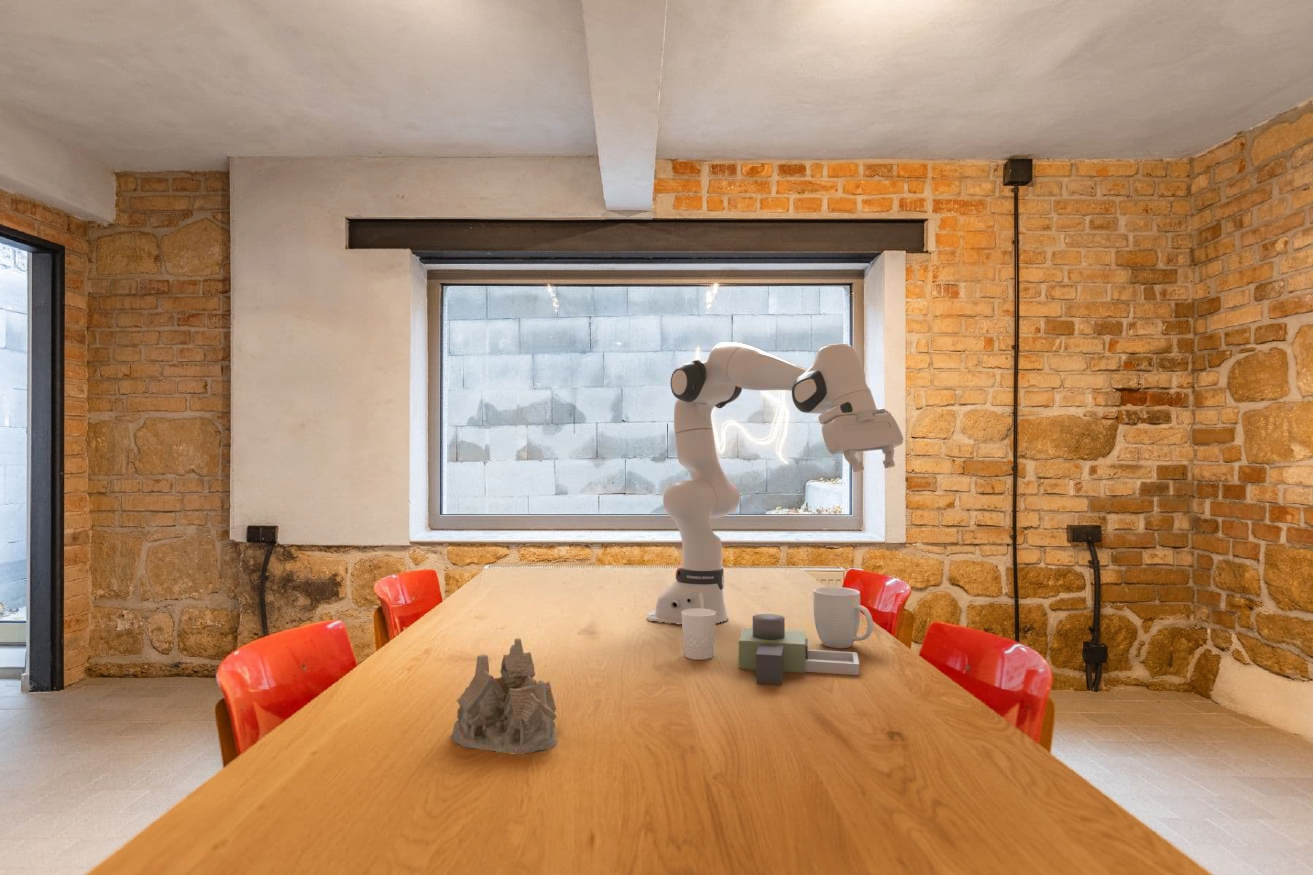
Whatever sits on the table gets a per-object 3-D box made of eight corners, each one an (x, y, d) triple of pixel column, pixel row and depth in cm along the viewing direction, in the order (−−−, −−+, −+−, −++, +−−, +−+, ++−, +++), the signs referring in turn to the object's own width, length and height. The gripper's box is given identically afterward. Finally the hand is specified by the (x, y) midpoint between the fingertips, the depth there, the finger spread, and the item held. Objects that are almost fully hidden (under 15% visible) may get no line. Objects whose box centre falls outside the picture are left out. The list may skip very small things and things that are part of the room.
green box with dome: (738, 668, 149) (738, 621, 149) (744, 654, 159) (743, 610, 160) (859, 676, 143) (859, 628, 143) (856, 661, 154) (856, 616, 154)
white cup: (716, 651, 162) (716, 608, 162) (715, 661, 154) (715, 616, 154) (682, 650, 163) (682, 607, 163) (680, 660, 155) (680, 615, 155)
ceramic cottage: (449, 725, 117) (454, 637, 117) (545, 716, 123) (550, 632, 123) (456, 770, 102) (462, 670, 102) (565, 757, 108) (570, 662, 108)
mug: (884, 648, 164) (883, 593, 165) (860, 657, 157) (859, 599, 157) (829, 636, 175) (829, 584, 176) (804, 644, 168) (804, 590, 168)
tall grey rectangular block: (756, 684, 139) (756, 653, 139) (759, 672, 147) (759, 643, 147) (781, 685, 138) (781, 655, 138) (783, 673, 146) (783, 645, 146)
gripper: (878, 413, 161) (897, 469, 157) (812, 418, 151) (830, 478, 147) (898, 402, 156) (918, 460, 152) (830, 406, 146) (850, 468, 142)
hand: (875, 469), depth 150 cm, fingers open, 8 cm apart
